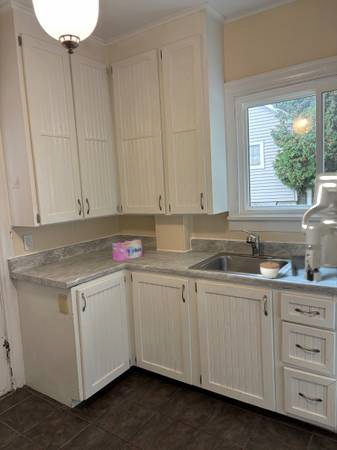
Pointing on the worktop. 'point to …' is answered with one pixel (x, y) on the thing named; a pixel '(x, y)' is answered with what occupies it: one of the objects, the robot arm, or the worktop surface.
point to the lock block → (314, 275)
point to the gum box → (127, 249)
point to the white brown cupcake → (269, 269)
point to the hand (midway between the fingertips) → (312, 278)
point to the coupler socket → (297, 263)
